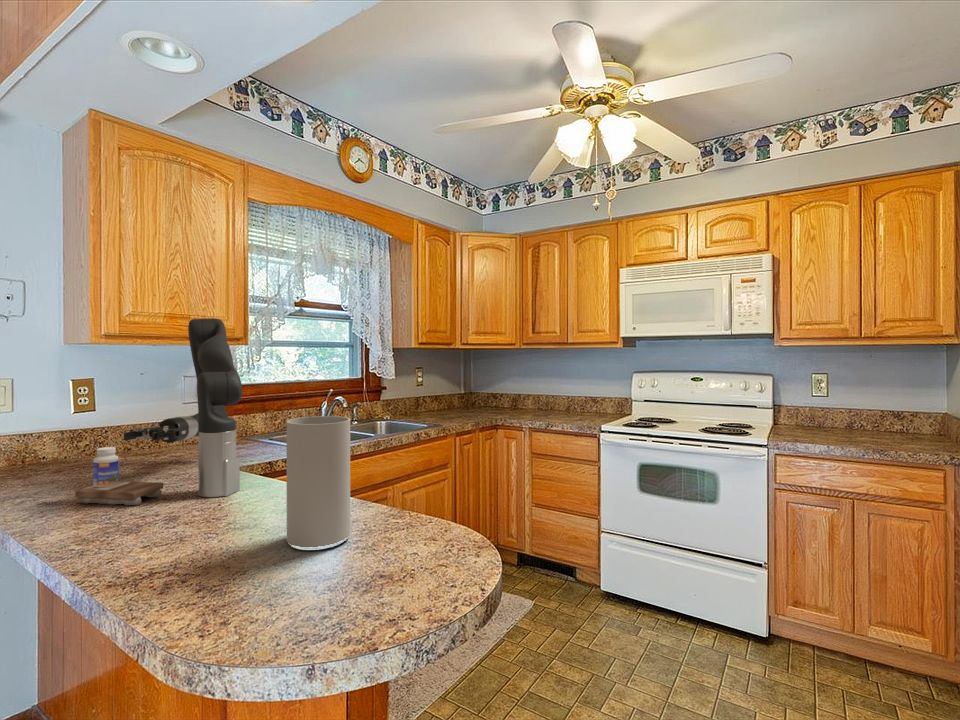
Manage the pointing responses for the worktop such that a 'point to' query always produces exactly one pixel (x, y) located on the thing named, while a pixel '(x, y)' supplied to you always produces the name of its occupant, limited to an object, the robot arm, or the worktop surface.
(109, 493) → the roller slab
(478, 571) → the worktop surface
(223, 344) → the robot arm
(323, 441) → the cylinder vase
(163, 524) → the worktop surface
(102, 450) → the pill bottle
